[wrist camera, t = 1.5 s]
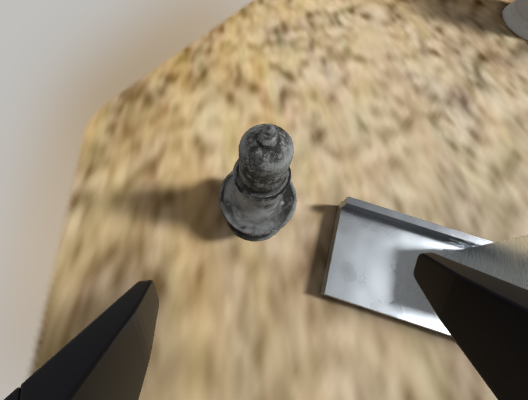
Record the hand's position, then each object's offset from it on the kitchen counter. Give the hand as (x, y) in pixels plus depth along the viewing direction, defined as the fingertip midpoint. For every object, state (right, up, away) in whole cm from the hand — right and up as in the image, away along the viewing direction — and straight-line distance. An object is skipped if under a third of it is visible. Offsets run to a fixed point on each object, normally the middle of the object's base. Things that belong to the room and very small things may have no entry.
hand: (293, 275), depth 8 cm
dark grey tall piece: (-2, +1, +14) cm, 14 cm away
